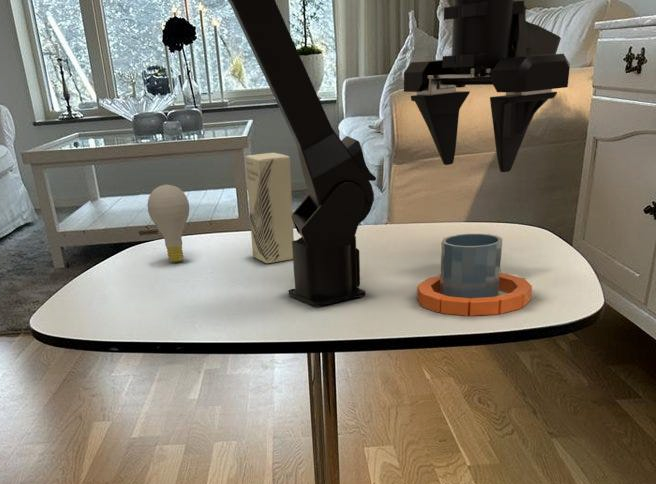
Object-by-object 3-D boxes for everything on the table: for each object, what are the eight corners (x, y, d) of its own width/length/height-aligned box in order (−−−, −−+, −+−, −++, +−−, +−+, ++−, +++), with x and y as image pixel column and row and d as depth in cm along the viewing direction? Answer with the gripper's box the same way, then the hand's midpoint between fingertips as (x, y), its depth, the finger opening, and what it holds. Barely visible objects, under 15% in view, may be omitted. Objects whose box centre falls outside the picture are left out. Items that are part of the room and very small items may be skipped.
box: (252, 257, 102) (242, 155, 95) (281, 252, 103) (274, 151, 97) (267, 265, 97) (258, 158, 91) (297, 259, 99) (291, 154, 92)
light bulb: (148, 264, 102) (135, 187, 97) (178, 256, 105) (167, 180, 100) (174, 269, 99) (162, 189, 94) (204, 260, 102) (194, 182, 97)
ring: (466, 323, 72) (467, 309, 71) (396, 297, 81) (396, 284, 80) (553, 300, 77) (554, 286, 76) (478, 278, 85) (478, 266, 85)
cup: (465, 310, 76) (468, 249, 73) (428, 297, 80) (429, 240, 77) (510, 298, 78) (515, 239, 75) (471, 286, 83) (474, 231, 80)
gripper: (624, -22, 66) (600, 165, 74) (486, -3, 81) (478, 153, 89) (528, -19, 62) (514, 180, 70) (401, 2, 77) (400, 164, 85)
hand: (475, 168), depth 79 cm, fingers open, 9 cm apart
